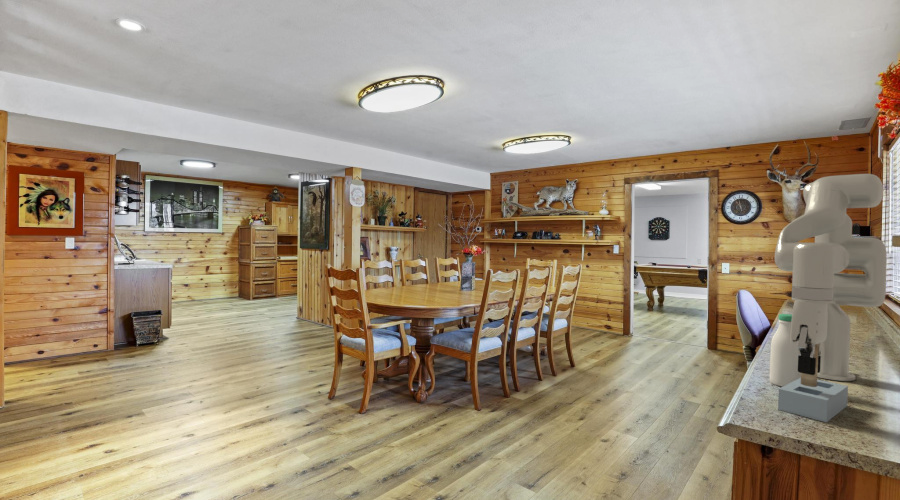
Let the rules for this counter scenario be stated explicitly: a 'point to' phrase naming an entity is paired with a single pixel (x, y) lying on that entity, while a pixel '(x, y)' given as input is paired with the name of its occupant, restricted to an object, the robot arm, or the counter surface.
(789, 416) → the counter surface
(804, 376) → the peg
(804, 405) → the hole block
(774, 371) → the milk bottle
